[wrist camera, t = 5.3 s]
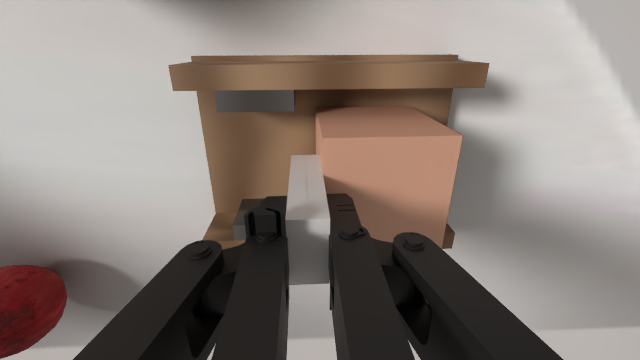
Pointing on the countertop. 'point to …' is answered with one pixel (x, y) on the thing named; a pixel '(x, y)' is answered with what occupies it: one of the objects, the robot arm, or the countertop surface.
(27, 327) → the onion
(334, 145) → the block
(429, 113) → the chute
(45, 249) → the countertop surface
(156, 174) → the countertop surface
